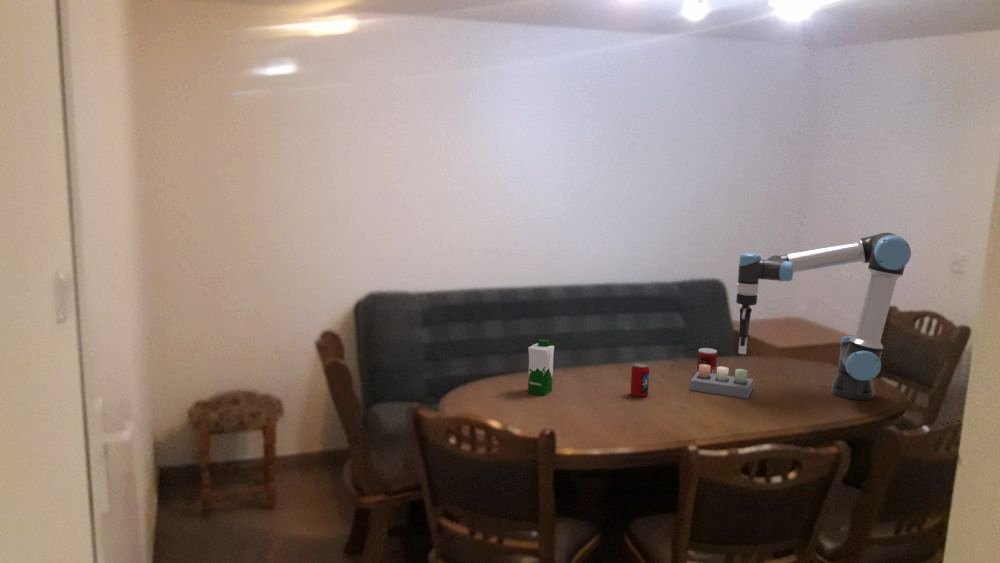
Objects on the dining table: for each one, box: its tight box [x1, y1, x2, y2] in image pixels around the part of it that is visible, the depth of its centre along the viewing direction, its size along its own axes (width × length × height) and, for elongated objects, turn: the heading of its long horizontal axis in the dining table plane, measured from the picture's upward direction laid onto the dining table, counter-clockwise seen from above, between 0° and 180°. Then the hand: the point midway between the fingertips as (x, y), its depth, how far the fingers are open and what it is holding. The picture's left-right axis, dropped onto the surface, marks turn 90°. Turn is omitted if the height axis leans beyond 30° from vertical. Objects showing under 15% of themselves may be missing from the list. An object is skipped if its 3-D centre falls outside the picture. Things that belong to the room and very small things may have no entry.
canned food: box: [696, 347, 718, 374], centre depth 324 cm, size 8×8×11 cm
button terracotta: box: [698, 364, 711, 379], centre depth 308 cm, size 4×4×5 cm
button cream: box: [716, 365, 730, 382], centre depth 305 cm, size 4×4×5 cm
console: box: [689, 371, 754, 400], centre depth 306 cm, size 22×14×4 cm, turn 65°
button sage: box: [734, 368, 748, 384], centre depth 302 cm, size 4×4×5 cm
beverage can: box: [630, 362, 651, 398], centre depth 296 cm, size 7×7×12 cm
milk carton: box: [527, 338, 555, 396], centre depth 296 cm, size 9×9×20 cm
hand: (742, 353), depth 301 cm, fingers closed
